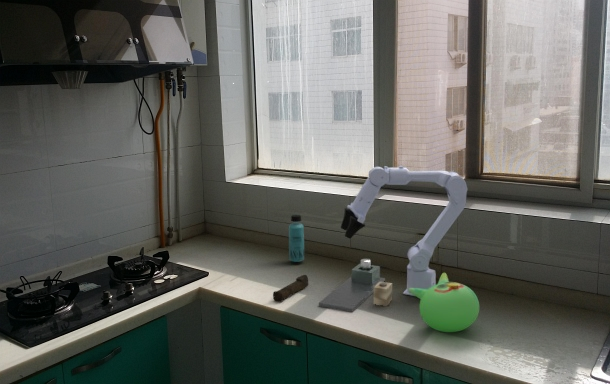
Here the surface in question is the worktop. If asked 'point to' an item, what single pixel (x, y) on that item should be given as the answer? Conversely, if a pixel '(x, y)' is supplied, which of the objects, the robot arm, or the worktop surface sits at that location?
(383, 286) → the block
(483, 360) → the worktop surface
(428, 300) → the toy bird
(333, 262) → the worktop surface
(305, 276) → the hand tool
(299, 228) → the beverage bottle
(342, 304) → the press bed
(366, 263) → the press pin
